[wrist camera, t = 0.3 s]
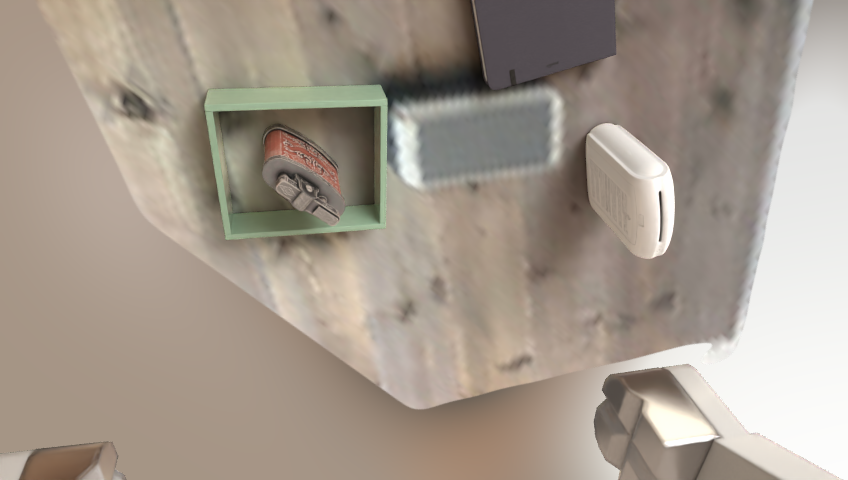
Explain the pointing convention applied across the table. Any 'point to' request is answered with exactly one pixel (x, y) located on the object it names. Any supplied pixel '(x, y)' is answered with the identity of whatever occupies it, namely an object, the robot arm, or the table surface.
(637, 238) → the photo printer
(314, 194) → the lighter
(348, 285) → the table surface
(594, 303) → the table surface
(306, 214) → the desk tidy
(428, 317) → the table surface
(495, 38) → the notebook
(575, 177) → the table surface
